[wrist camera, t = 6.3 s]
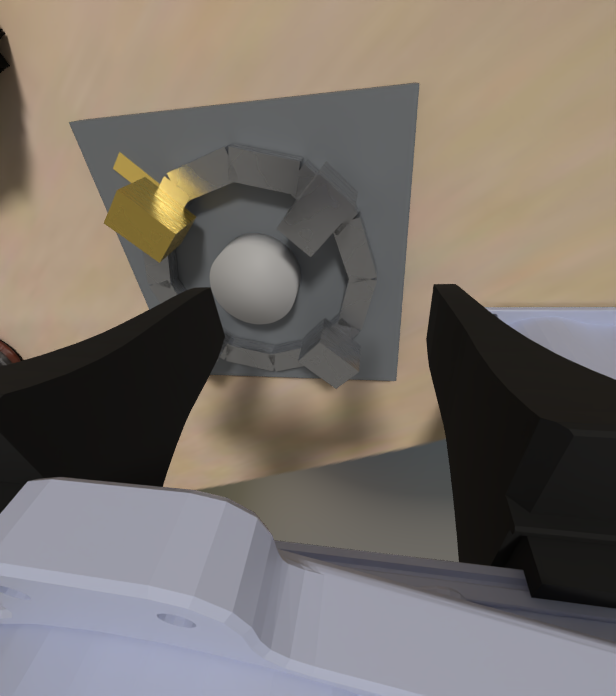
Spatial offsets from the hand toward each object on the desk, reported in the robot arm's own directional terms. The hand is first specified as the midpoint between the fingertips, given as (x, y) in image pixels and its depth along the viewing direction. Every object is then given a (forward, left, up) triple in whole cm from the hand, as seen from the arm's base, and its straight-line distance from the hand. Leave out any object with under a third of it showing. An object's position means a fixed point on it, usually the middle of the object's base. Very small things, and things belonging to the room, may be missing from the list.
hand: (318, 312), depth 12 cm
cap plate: (+5, +3, -10) cm, 12 cm away
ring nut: (+5, +3, -9) cm, 11 cm away
